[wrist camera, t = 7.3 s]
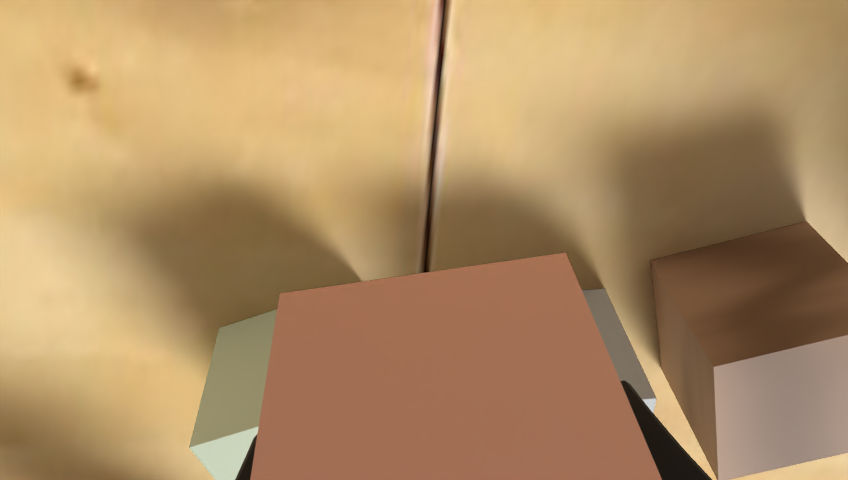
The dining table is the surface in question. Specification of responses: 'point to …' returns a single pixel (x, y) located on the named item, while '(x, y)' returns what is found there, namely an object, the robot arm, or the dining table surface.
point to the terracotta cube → (447, 381)
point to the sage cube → (233, 395)
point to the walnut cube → (757, 347)
